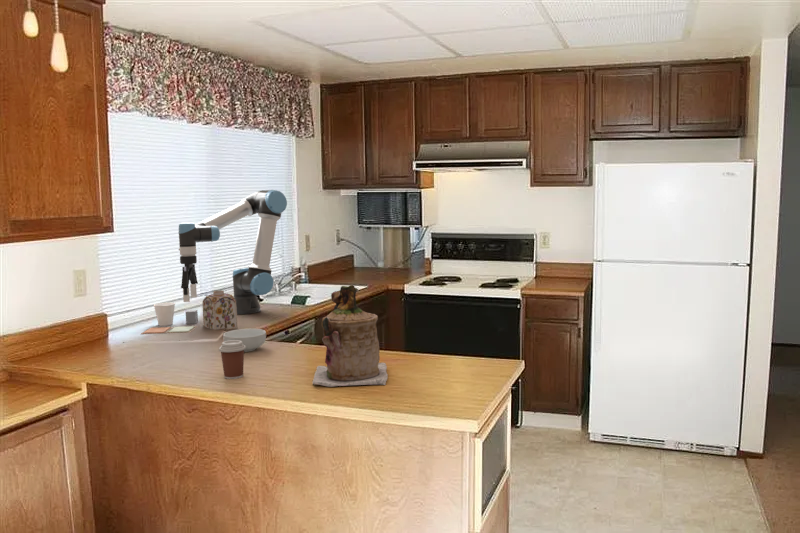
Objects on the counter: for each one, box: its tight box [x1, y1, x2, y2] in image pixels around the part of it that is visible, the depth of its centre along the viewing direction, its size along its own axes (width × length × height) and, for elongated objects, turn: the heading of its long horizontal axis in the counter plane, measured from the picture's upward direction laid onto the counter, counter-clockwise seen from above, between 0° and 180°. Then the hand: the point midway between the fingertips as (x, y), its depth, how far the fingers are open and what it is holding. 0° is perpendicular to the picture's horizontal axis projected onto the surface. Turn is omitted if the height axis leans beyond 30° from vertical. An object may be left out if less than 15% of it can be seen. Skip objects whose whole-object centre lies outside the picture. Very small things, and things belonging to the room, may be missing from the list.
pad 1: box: [143, 326, 171, 334], centre depth 319 cm, size 9×11×1 cm
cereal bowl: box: [222, 327, 267, 353], centre depth 281 cm, size 17×17×7 cm
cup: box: [153, 301, 176, 327], centre depth 333 cm, size 10×10×11 cm
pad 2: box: [167, 325, 195, 334], centre depth 320 cm, size 9×11×1 cm
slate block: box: [185, 309, 199, 325], centre depth 336 cm, size 4×4×7 cm
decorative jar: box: [202, 289, 238, 332], centre depth 324 cm, size 12×12×18 cm
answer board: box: [140, 325, 198, 335], centre depth 319 cm, size 22×14×2 cm, turn 93°
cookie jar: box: [312, 284, 389, 388], centre depth 235 cm, size 25×25×32 cm
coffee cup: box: [218, 340, 246, 380], centre depth 240 cm, size 9×9×12 cm
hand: (190, 299), depth 335 cm, fingers open, 13 cm apart
